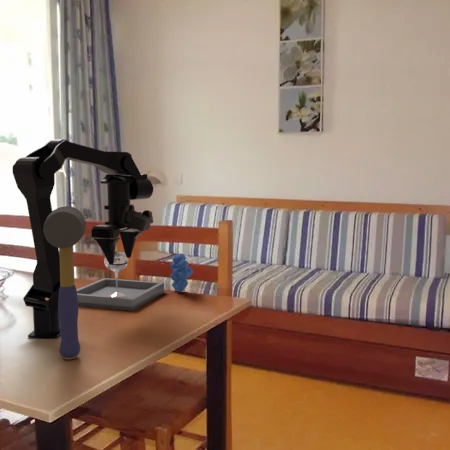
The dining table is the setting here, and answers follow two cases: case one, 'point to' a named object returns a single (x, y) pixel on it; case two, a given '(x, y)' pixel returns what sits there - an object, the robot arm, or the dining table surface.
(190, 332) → the dining table surface
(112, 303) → the tray
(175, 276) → the grapes
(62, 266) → the rubber mallet
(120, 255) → the wineglass
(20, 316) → the dining table surface
